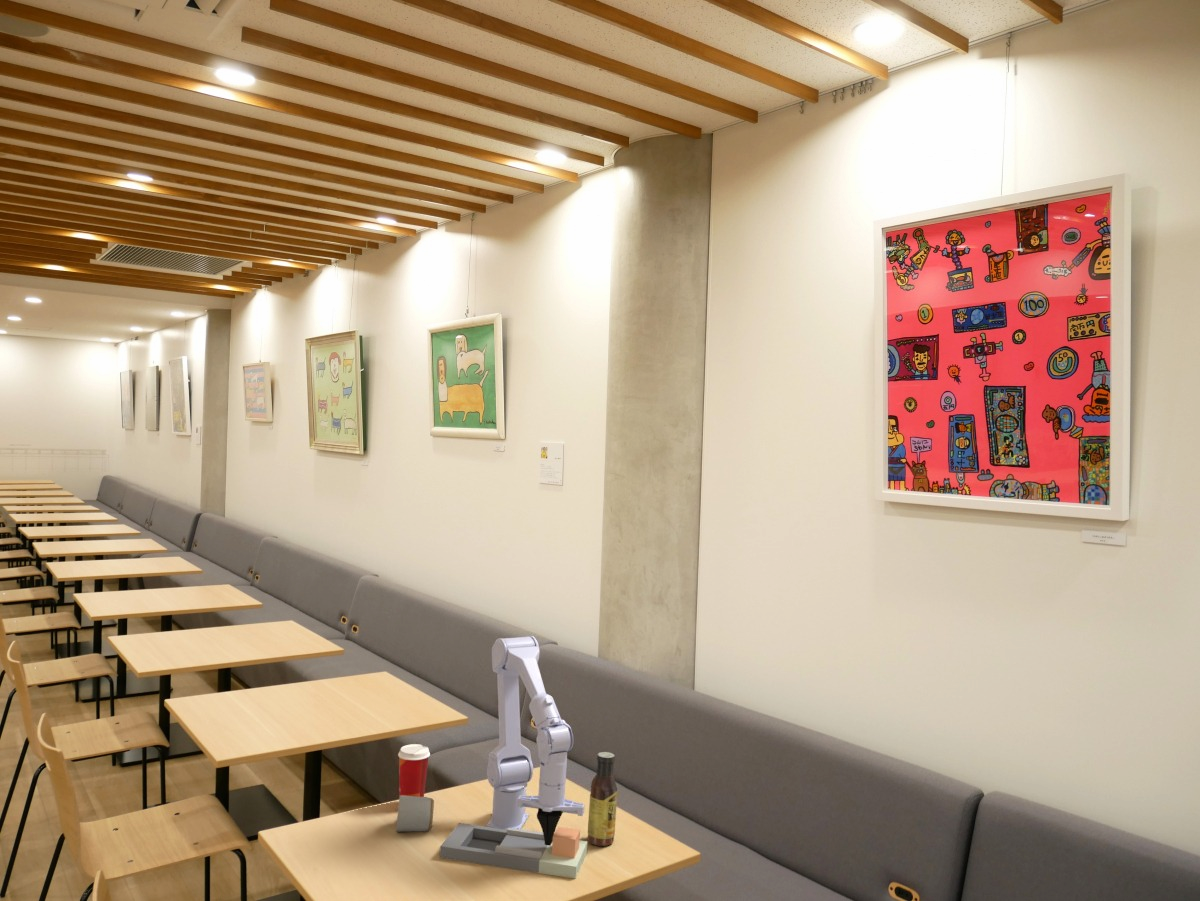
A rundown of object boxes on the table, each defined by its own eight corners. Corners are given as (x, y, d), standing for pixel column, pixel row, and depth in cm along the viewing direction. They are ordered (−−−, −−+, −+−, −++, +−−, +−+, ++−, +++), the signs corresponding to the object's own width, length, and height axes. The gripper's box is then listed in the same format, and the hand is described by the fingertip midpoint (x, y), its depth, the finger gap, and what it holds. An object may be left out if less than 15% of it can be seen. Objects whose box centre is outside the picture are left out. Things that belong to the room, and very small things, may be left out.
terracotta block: (557, 844, 191) (558, 826, 191) (579, 847, 191) (580, 829, 190) (551, 854, 187) (552, 836, 186) (574, 858, 186) (575, 839, 186)
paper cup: (413, 796, 218) (416, 741, 218) (433, 806, 213) (436, 749, 213) (388, 805, 212) (391, 748, 212) (407, 815, 207) (411, 757, 207)
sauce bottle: (611, 849, 196) (616, 761, 196) (584, 845, 197) (589, 758, 197) (616, 836, 202) (621, 752, 202) (590, 832, 204) (595, 748, 204)
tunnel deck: (458, 833, 199) (459, 818, 199) (586, 852, 194) (587, 836, 194) (439, 857, 187) (440, 841, 187) (575, 878, 182) (576, 861, 182)
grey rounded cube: (432, 836, 197) (434, 802, 197) (395, 837, 196) (397, 803, 196) (431, 816, 208) (433, 784, 208) (396, 817, 206) (398, 785, 206)
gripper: (515, 783, 186) (511, 846, 187) (581, 792, 184) (577, 856, 184) (523, 771, 193) (520, 832, 194) (587, 780, 191) (584, 841, 191)
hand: (548, 843), depth 189 cm, fingers closed
